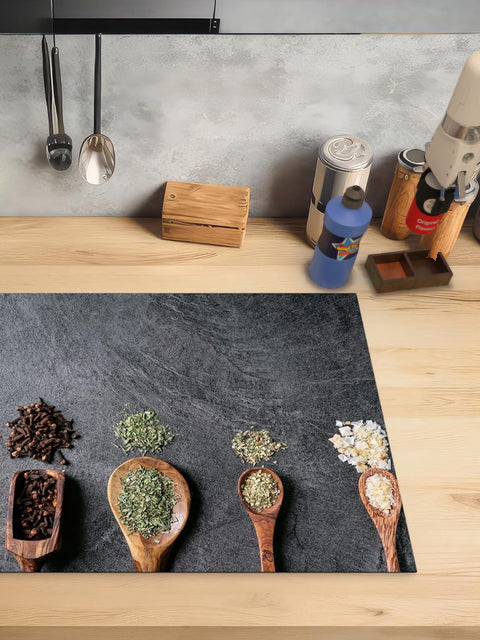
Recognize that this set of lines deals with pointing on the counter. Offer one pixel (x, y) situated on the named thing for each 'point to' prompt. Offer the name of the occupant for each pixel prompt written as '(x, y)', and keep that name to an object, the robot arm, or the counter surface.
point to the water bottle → (340, 238)
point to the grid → (407, 270)
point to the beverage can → (425, 206)
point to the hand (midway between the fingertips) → (431, 199)
